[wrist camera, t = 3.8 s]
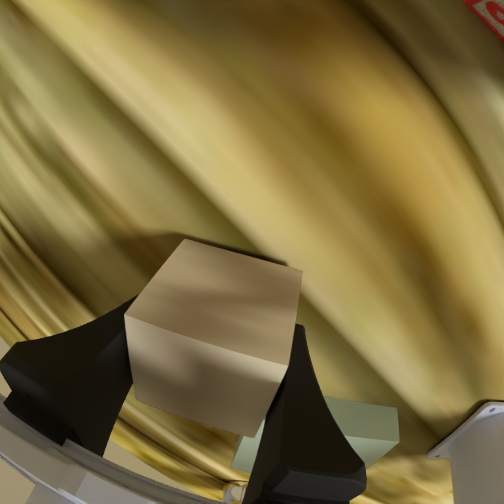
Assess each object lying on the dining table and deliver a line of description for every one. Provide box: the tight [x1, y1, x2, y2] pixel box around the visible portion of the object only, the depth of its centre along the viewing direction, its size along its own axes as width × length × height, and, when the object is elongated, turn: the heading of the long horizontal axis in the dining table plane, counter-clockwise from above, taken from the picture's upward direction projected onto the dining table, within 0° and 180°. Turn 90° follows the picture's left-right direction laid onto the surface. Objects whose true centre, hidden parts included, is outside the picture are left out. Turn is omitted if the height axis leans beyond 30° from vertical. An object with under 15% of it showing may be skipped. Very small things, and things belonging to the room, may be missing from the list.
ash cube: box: [124, 239, 303, 439], centre depth 12 cm, size 5×5×5 cm
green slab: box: [230, 396, 400, 473], centre depth 19 cm, size 9×9×3 cm
